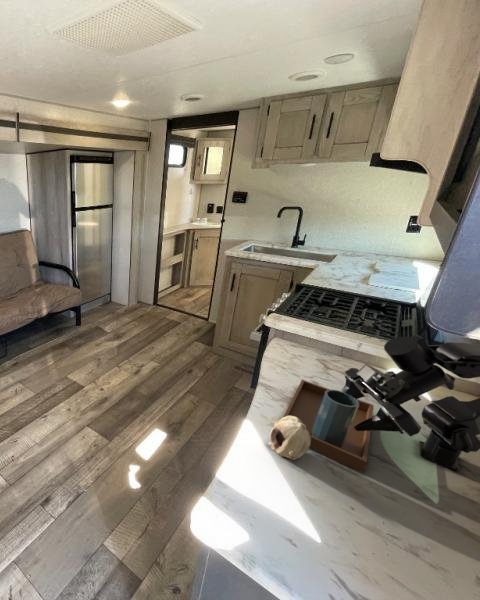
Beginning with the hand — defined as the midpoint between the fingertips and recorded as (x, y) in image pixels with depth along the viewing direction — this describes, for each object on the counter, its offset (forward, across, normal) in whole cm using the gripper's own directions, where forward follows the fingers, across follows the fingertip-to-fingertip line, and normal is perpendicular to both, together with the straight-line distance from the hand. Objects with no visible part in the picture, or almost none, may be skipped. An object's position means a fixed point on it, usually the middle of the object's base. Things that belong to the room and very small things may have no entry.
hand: (343, 415), depth 79 cm
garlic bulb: (+16, +5, -3) cm, 17 cm away
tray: (+5, -8, +8) cm, 12 cm away
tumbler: (+7, 0, +4) cm, 8 cm away
